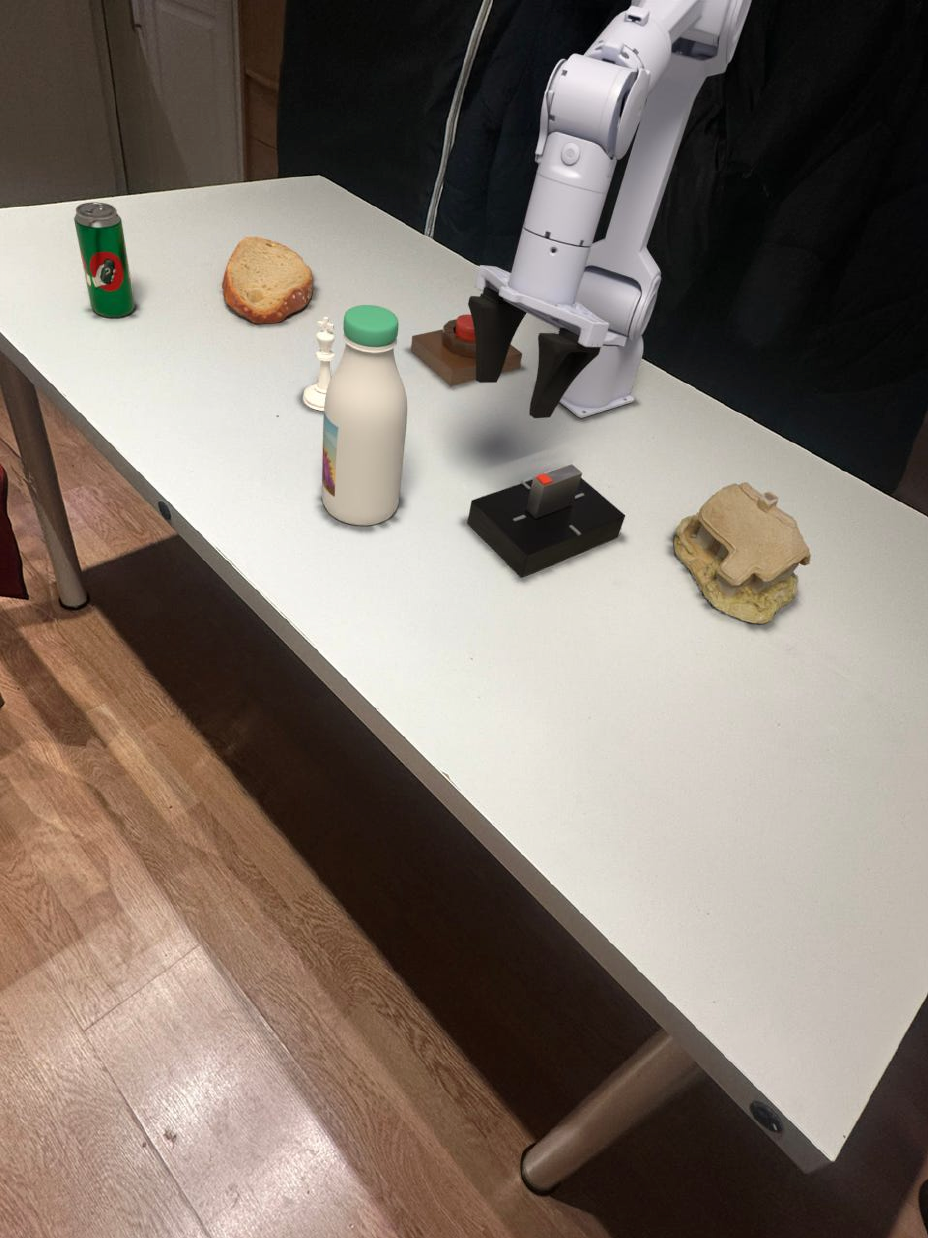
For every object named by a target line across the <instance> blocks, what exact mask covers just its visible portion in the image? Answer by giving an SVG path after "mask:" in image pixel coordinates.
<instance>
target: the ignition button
mask: <svg viewBox="0 0 928 1238" xmlns="http://www.w3.org/2000/svg"><path fill="white" fill-rule="evenodd" d="M456 319H457V321H456V329H455V334H456V335H457V336H459V337H461V338H464V339H468V340H475V331H474V325H473V320H472V316H471V314H470V313H469V314H466V313H465V314H461V315H459V316H457V318H456Z"/></svg>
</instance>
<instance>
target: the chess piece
mask: <svg viewBox="0 0 928 1238" xmlns="http://www.w3.org/2000/svg"><path fill="white" fill-rule="evenodd" d="M317 327H319V328H322V329H323V330H320V331H317V333H316V335H315V336H316V340H317V342H318V346H319V350H316V353H315V358H316V359H317V360H319V361H320V365H319V373H318V379H317V383H313V384H310V385H308V386H307V387H306V388H305V389H304V391H303V396H302V400H303V401H302V402H303V403H304V405H306V406H307V407H309V408H310V409H312V410H316V411H318V412H324V403H325V396H326V391H327V388H328V385H329V382H330V380H331V377H332V371H331V361H334V360H335V359H336V354H335V353H334V351H332V347H333V344H334V342H335V339H336V335H335V333H334V332H332V331H333V330H334V329H335V324H334V323H331V322H330V321H329V316H324V317H323V319H322V321H321V320H318V321H317ZM330 330H331V331H330Z"/></svg>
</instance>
